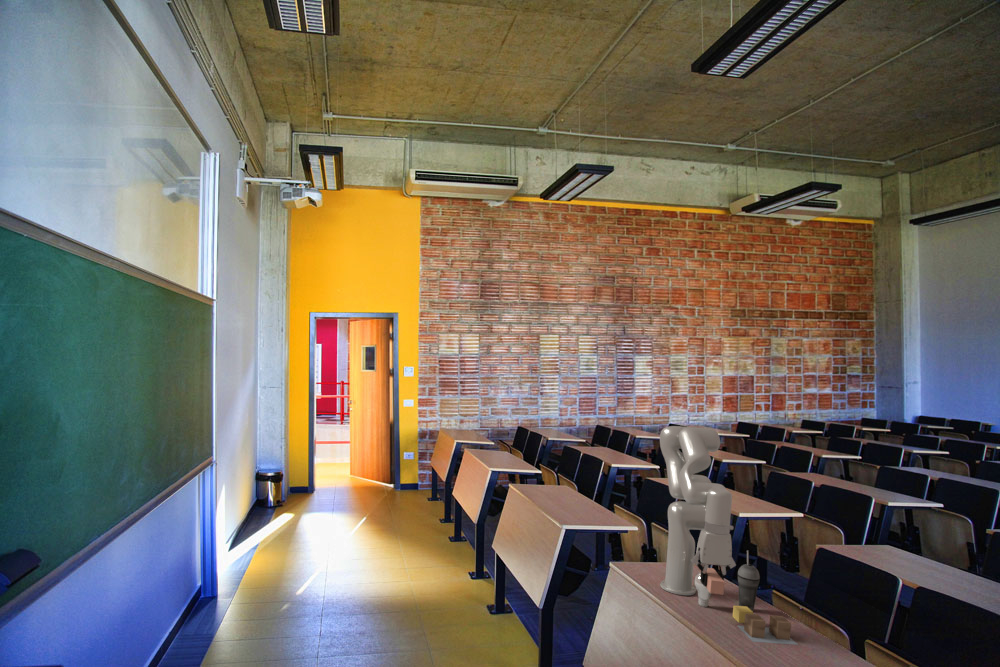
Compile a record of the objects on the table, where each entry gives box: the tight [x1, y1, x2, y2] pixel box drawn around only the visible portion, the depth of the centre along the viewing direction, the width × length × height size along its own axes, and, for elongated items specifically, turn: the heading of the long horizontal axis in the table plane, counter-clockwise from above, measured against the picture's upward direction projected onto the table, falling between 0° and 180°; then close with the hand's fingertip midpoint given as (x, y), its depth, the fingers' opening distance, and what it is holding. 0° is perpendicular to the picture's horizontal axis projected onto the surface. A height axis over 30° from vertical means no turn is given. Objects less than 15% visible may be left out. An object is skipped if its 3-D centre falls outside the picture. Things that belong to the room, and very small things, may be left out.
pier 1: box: [743, 613, 766, 638], centre depth 186 cm, size 5×4×5 cm
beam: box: [700, 567, 725, 596], centre depth 194 cm, size 11×4×4 cm, turn 178°
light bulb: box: [693, 571, 712, 608], centre depth 206 cm, size 7×7×12 cm
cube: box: [732, 605, 754, 624], centre depth 196 cm, size 4×4×4 cm
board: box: [736, 624, 799, 646], centre depth 186 cm, size 11×14×1 cm
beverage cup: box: [736, 550, 761, 612], centre depth 207 cm, size 7×7×20 cm
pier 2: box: [768, 615, 792, 640], centre depth 187 cm, size 5×4×5 cm
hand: (711, 584), depth 194 cm, fingers closed on beam, 4 cm apart
